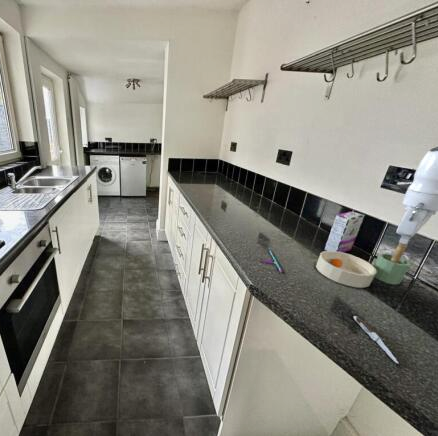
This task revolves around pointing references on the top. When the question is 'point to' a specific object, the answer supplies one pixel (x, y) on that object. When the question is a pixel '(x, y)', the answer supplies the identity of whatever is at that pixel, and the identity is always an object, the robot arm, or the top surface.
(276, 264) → the squeegee
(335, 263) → the ball
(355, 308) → the top surface
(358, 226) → the candy bar box
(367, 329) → the pocket knife
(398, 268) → the holder
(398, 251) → the stirring stick
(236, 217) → the top surface
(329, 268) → the bowl
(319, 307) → the top surface
